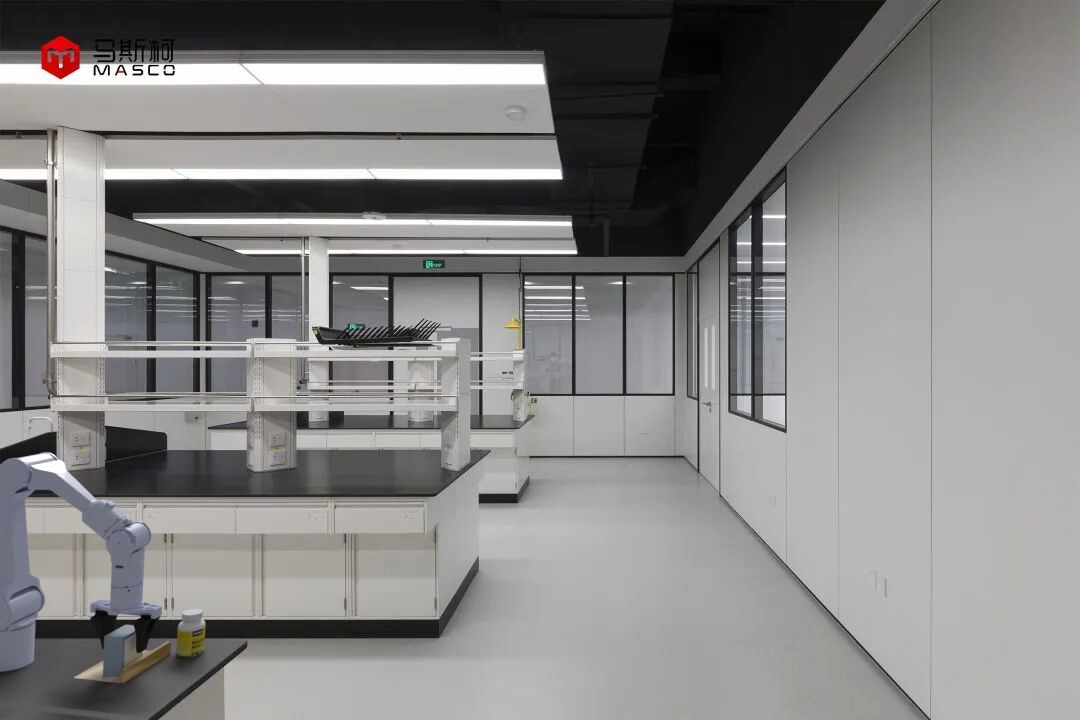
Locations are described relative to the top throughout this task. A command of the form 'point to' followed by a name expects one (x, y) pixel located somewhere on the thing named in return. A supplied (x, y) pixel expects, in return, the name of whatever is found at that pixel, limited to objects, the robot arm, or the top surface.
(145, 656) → the shelf board
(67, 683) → the top surface
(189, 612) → the supplement bottle
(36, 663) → the top surface
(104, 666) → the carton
